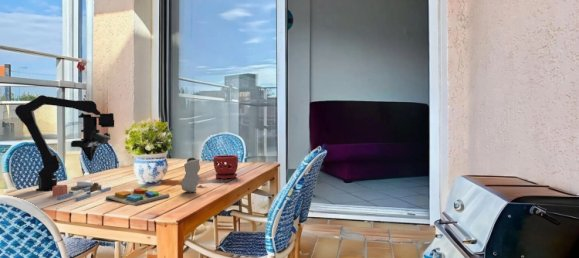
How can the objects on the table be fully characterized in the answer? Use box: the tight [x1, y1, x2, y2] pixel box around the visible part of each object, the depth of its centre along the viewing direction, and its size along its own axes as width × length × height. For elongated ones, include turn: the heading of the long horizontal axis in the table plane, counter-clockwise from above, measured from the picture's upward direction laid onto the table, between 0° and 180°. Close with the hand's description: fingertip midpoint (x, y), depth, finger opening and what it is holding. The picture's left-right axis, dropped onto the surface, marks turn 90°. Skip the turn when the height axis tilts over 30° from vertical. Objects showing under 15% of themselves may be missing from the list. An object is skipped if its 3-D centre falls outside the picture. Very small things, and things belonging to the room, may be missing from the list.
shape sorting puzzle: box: [105, 187, 171, 206], centre depth 154 cm, size 18×19×4 cm
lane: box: [56, 186, 112, 202], centre depth 159 cm, size 10×21×2 cm, turn 172°
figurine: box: [180, 157, 201, 193], centre depth 167 cm, size 9×10×15 cm
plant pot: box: [213, 154, 239, 180], centre depth 203 cm, size 13×13×12 cm
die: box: [51, 184, 68, 197], centre depth 158 cm, size 4×4×4 cm
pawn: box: [89, 182, 102, 193], centre depth 166 cm, size 4×4×4 cm
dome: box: [76, 179, 94, 187], centre depth 172 cm, size 6×6×2 cm
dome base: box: [70, 185, 90, 191], centre depth 173 cm, size 8×8×1 cm
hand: (90, 160), depth 176 cm, fingers closed
